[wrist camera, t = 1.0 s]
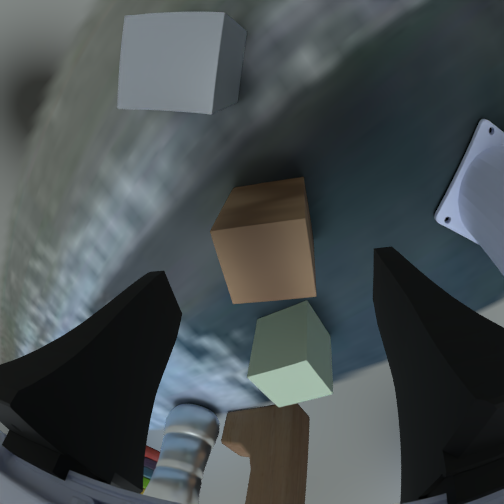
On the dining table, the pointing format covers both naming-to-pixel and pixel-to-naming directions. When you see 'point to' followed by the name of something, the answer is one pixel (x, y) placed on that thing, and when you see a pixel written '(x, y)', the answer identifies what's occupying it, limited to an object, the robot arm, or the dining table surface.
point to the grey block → (180, 62)
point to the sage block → (291, 356)
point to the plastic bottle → (184, 454)
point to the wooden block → (271, 451)
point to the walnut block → (266, 242)
